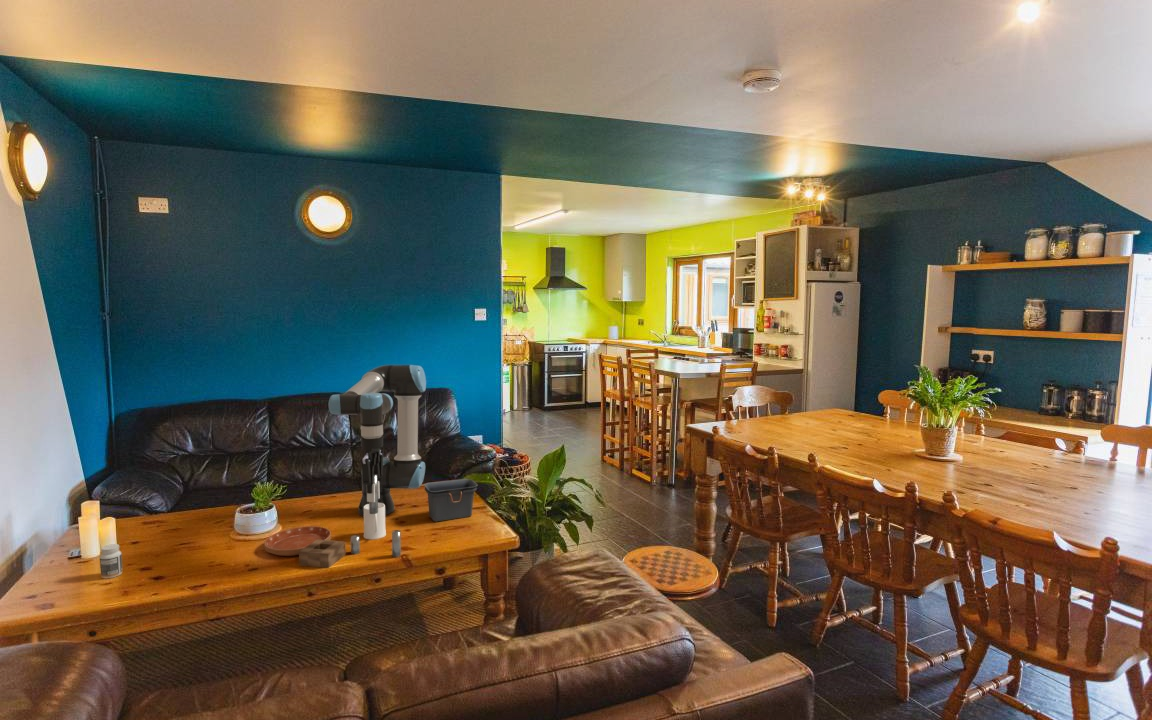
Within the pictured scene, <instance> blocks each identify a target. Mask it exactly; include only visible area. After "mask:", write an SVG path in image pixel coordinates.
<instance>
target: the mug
mask: <svg viewBox="0 0 1152 720" xmlns="http://www.w3.org/2000/svg"><path fill="white" fill-rule="evenodd" d="M386 535H387V532H386V515H385V504H383V503H378V513H377V514H370V513H369V504H367V505H365V506H364V516H363V538H364V539H366V540H378V539H382V538H384V537H386Z"/></svg>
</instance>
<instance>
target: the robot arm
mask: <svg viewBox="0 0 1152 720" xmlns="http://www.w3.org/2000/svg"><path fill="white" fill-rule="evenodd" d="M426 389H427V378H426V373H425V371H424V368H423V367H422V366H421V365H414V364H385V365H380V366H377V367H375V368H372V369H371V370H369V371H367V372H366V373H365V374H364V375H363V376H362V377H361V380H359V381H358V382H356V384H354V385H353V386H352V387H350V388H349V389H348V390H347V391H345V392H344V393H341V394H340V393H339V394H332V395H330V397H329V400H328V411H329V413H330V414H331V415H338V416H343V415H344V416H349V415H350V416H354V415H355V416H360V427H359V429H360V435H361V437H360V445H361V446H360V447H361V448H362V449H364V453H363V455H364V457H361V458H360V459H359V460H360V463H361V472H360V475H361V498H360V501H359V505H358V509H357V510H358V512H357V513H358V515H359V516H361V517H364V506H365V505H367V504H369V502H375V484H373V481H374V474H377V483H378V503H383V504H385V516H387V515H390V514H392V513H393V512H395V503H394V500H393V496H392V495H391V490H392V489H398V490H401V489H403V490H406V489H408V490H412V489H413V490H414V489H419V488H420V487H421V486H422V484H423V482H424V479H425V473H426V463H425V462H424V461H422V456H420V454H419V452H418V448H419V447H418V445H419V442H418V441H419V436H418V435H419V399H420V398H421V397H422V396H423V395H422V393H424V392H426ZM380 392H383V393H380ZM384 392H394V393H393V394H394V395H393V396H394V398H395V399H397V447H396V448H397V451H396V452H397V454H396V455H395V456H394V458H393V461H391V460H390V457H386V456H384V453H385V451H384V449H381V448H382V447H384V437H383V435H384V422H383V421H384V417H383V416H384V415H385V414H387V413H389V412H390V411H391V410H392V408H393V406H394V401H393V398H392V397H391V396H390V395H389V394H387V393H384Z"/></svg>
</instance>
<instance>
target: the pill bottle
mask: <svg viewBox="0 0 1152 720" xmlns="http://www.w3.org/2000/svg"><path fill="white" fill-rule="evenodd" d="M100 552H101V554H100V556H99V565H100V566H99V568H100V576H101V578H102V579H105V580H106V579H107V580H108V579H113V578H116V577H119V576H120V575H122V573H123V571H124V570H123V557H122V556H123V555H122V554H123V553H122V551H121V550H120V545H119V544H118V543H114V544H113V543H112V544H107V545H104V546H102V547H101V550H100Z"/></svg>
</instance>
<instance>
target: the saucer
mask: <svg viewBox="0 0 1152 720" xmlns="http://www.w3.org/2000/svg"><path fill="white" fill-rule="evenodd" d="M317 539H318V540H331V539H332V532H331V530H330V529H329V528H327V527H323V526H318V525H317V526H316V525H315V526H312V525H309V526H307V525H306V526H299V527H298V526H297V527H292V528H288V529H284V530H281V531H278V532H276V533H273V534H272V535H270V536H268V537H267V538H266V539H265V540H264V543H263V545H264V551H266V552H267V553H269V554H272V555H275V556H279V557H280V556H281V557H291V556H293V557H294V556H299V551H301V550H302V549H304V548H305V547H307V546H308V545H310V544H311V543H313V542H314V541H316V540H317Z"/></svg>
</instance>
